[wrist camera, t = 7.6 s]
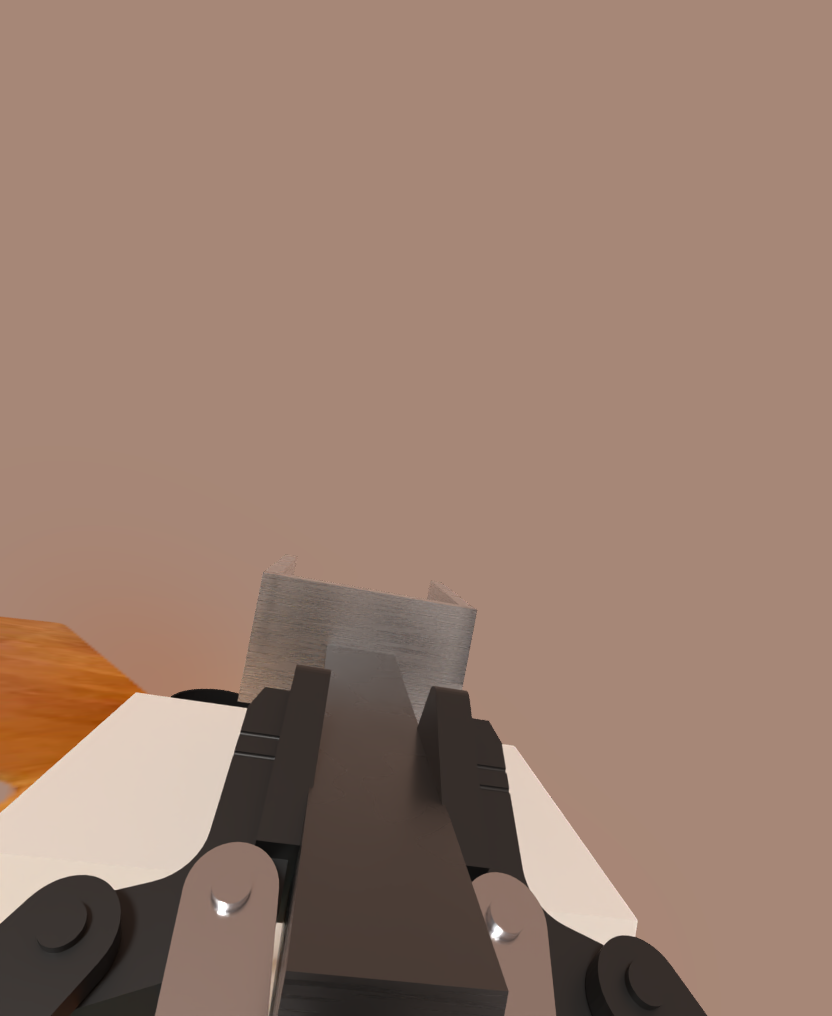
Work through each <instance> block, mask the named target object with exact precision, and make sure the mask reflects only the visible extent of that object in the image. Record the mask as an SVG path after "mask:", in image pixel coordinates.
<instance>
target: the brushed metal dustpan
mask: <svg viewBox="0 0 832 1016" xmlns="http://www.w3.org/2000/svg"><path fill="white" fill-rule="evenodd" d="M296 561H297V556H291V555H285V556H283V557H282V558H281V559H279V560H278V561H277V562H276V563H274V564H273V565H272V566H271V567H269V568H268V569H267V570H266V571H264V572H263V576H262V581H261V587H260V591H259V596H258V602H257V606H256V611H255V616H254V621H253V626H252V632H251V637H250V642H249V647H248V652H247V657H246V662H245V667H244V672H243V678H242V682H241V687H240V692H239V697H238V701H239V702H245V703H251V702H252V701H253V700H254V699H255V698H256V697H257V695H258V694H259V693H260V692H261V691H262V690H263V689H264V687H269V688H275V689H282V690H289V691H290V690H291V686H292V682H293V677H294V673H295V669H296V665H297V664H299V665H306V666H312V667H318V668H325V669H331V676H330V683H329V689H328V696H327V702H326V708H325V715H324V721H323V728H322V734H321V740H320V747H319V753H318V760H317V766H316V772H315V779H314V785H313V788H312V787H309V792H308V798H307V804H306V810H305V816H304V822H303V828H302V834H301V841H300V846H299V851H298V855H297V860H296V864H295V868H294V873H293V877H292V882H291V886H290V890H289V895H288V899H287V904H286V908H285V912H284V917H283V923H282V930H281V936H280V943H279V950H278V957H277V963H276V970H275V977H274V983H273V990H272V997H271V1003H270V1010H269V1016H504V1014H505V1009H506V1004H507V998H508V993H509V991H508V988H507V985H506V982H505V979H504V976H503V973H502V970H501V967H500V964H499V961H498V958H497V955H496V952H495V949H494V947H493V944H492V941H491V938H490V935H489V932H488V929H487V926H486V923H485V920H484V917H483V914H482V911H481V908H480V905H479V902H478V899H477V896H476V893H475V890H474V888H473V885H472V882H471V879H470V876H469V873H468V870H467V867H466V864H465V861H464V858H463V855H462V852H461V849H460V846H459V843H458V840H457V837H456V834H455V831H454V829H453V826H452V823H451V820H450V817H449V814H448V811H447V808H446V805H442V803H441V800H440V797H439V794H438V791H437V788H436V785H435V782H434V779H433V776H432V773H431V769H430V766H429V763H428V760H427V757H426V754H425V751H424V748H423V745H422V742H421V739H420V736H419V733H418V730H417V727H418V724H419V721H420V718H421V715H422V712H423V709H424V706H425V703H426V700H427V697H428V694H429V692H430V689H431V687H432V686H438V687H444V688H451V689H457V690H462V687H463V682H464V676H465V671H466V666H467V660H468V655H469V650H470V644H471V640H472V634H473V629H474V624H475V618H476V613H477V610H476V609H475V608H474V607H472V606H471V605H470V604H469V603H467V602H466V601H465V600H463V599H462V598H461V597H459V596H458V595H457V594H456V593H454V592H453V591H452V590H450V589H449V588H448V587H447V586H445V585H444V584H443V583H441V582H436V581H431V582H430V587H429V592H428V598H427V599H422V598H417V597H411V596H406V595H400V594H394V593H389V592H383V591H377V590H371V589H366V588H360V587H355V586H349V585H343V584H338V583H332V582H326V581H321V580H315V579H309V578H304V577H298V576H294V570H295V566H296Z"/></svg>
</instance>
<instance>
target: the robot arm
mask: <svg viewBox="0 0 832 1016" xmlns="http://www.w3.org/2000/svg"><path fill="white" fill-rule="evenodd" d="M330 676H331V669H325V668H318V667H312V666H306V665H299V664H297V665H296V669H295V673H294V677H293V682H292V686H291V690H290V691H289V690H282V689H275V688H269V687H264V689H263V690H262V691H261V692H260V693H259V694H258V695H257V697H256V698H255V699H254V700H253V701H252V702H251V703H250V704H249V706H248V708H247V711H246V714H245V718H244V721H243V724H242V727H241V731H240V735H239V737H238V741H237V744H236V747H235V750H234V755H233V757H232V760H231V764H230V767H229V770H228V773H227V777H226V780H225V783H224V787H223V790H222V793H221V796H220V800H219V803H218V806H217V809H216V813H215V816H214V819H213V823H212V826H211V829H210V832H209V835H208V837H207V840H206V841H205V843H204V845H203V847H202V848H201V850H200V851H199V852H198V854H197V855H196V856H195V857H194V858H193V859H192V860H191V861H190V862H189V863H188V864H187V865H185V866H184V867H183V868H181V869H180V870H178V871H177V872H175V873H173V874H171V875H169V876H167V877H165V878H162V879H159V880H156V881H152V882H148V883H144V884H139V885H135V886H131V887H127V888H122V889H118V890H114V889H113V888H112V887H111V885H110V884H109V883H107V882H106V881H104V880H103V879H100V878H98V877H95V876H90V875H74V876H68V877H65V878H62V879H58V880H56V881H54V882H52V883H50V884H48V885H46V886H44V887H43V888H41V889H40V890H38V891H37V892H35V893H34V894H33V895H32V896H30V897H29V898H28V899H27V900H26V901H25V902H24V903H22V904H21V905H20V906H19V907H18V908H17V909H16V910H15V911H14V912H12V913H11V914H10V915H9V916H8V917H7V918H6V919H5V920H4V921H3V922H1V923H0V1016H268V1009H269V998H270V986H271V974H272V963H273V951H274V940H275V928H276V923H283V917H284V912H285V908H286V904H287V899H288V895H289V890H290V886H291V882H292V877H293V873H294V868H295V864H296V860H297V855H298V851H299V846H300V841H301V834H302V828H303V822H304V816H305V810H306V804H307V798H308V792H309V787H312V788H313V785H314V779H315V772H316V766H317V760H318V753H319V747H320V740H321V734H322V728H323V721H324V715H325V708H326V702H327V696H328V689H329V683H330ZM417 730H418V733H419V736H420V739H421V742H422V745H423V748H424V751H425V754H426V757H427V760H428V763H429V766H430V769H431V773H432V776H433V779H434V782H435V785H436V788H437V791H438V794H439V797H440V800H441V803H442V805H446V808H447V811H448V814H449V817H450V820H451V823H452V826H453V829H454V831H455V834H456V837H457V840H458V843H459V846H460V849H461V852H462V855H463V858H464V861H465V864H466V867H467V870H468V873H469V876H470V879H471V882H472V885H473V888H474V890H475V893H476V896H477V899H478V902H479V905H480V908H481V911H482V914H483V917H484V920H485V923H486V926H487V929H488V932H489V935H490V938H491V941H492V944H493V947H494V949H495V952H496V955H497V958H498V961H499V964H500V967H501V970H502V973H503V976H504V979H505V982H506V985H507V988H508V991H509V993H508V998H507V1004H506V1009H505V1014H504V1016H707V1015H706V1014H705V1012H704V1011H703V1009H702V1008H701V1006H700V1005H699V1004H698V1002H697V1001H696V1000H695V998H694V997H693V995H692V994H691V992H690V991H689V990H688V988H687V987H686V986H685V984H684V983H683V981H682V980H681V979H680V977H679V976H678V974H677V973H676V972H675V970H674V969H673V967H672V966H671V965H670V964H669V962H668V961H667V960H666V959H665V957H664V956H663V955H662V954H661V953H660V952H659V951H657V950H656V949H655V948H654V947H653V946H651V945H650V944H648V943H646V942H645V941H643V940H641V939H639V938H636V937H633V936H627V935H621V936H616V937H614V938H612V939H610V940H609V941H608V942H606V943H605V945H603V944H601V943H599V942H597V941H595V940H593V939H591V938H589V937H587V936H585V935H583V934H581V933H579V932H577V931H575V930H573V929H571V928H569V927H567V926H565V925H563V924H561V923H560V922H558V921H557V920H555V919H554V918H553V917H551V916H550V915H549V914H548V913H547V912H546V911H545V910H544V909H543V908H542V907H541V905H540V903H539V902H538V900H537V898H536V897H535V895H534V894H533V893H532V892H531V890H530V889H529V887H528V884H527V882H526V879H525V876H524V872H523V867H522V861H521V855H520V849H519V843H518V837H517V831H516V825H515V819H514V813H513V807H512V801H511V795H510V793H509V783H508V777H507V773H506V765H505V759H504V753H503V747H502V743H501V741H500V739H499V738H498V736H497V734H496V733H495V731H494V729H493V728H492V726H491V724H490V722H489V721H485V720H479V719H473V718H472V716H471V707H470V699H469V694H468V692H467V691H463V690H457V689H451V688H444V687H438V686H432V687H431V689H430V692H429V694H428V697H427V700H426V703H425V706H424V709H423V712H422V715H421V718H420V721H419V724H418V727H417Z"/></svg>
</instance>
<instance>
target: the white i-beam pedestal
mask: <svg viewBox="0 0 832 1016" xmlns="http://www.w3.org/2000/svg"><path fill="white" fill-rule="evenodd" d="M246 711H247V708H242V707H235V706H228V705H221V704H214V703H206V702H199V701H192V700H185V699H178V698H171V697H164V696H156V695H150V694H143V693H135V694H134V695H133V696H132V697H130V698H129V699H128V700H127V701H126V702H125V703H124V704H123V705H121V706H120V707H119V708H118V709H117V710H116V711H115V712H114V713H112V714H111V715H110V716H109V717H108V718H107V719H106V720H105V721H103V722H102V723H101V724H100V725H99V726H98V727H97V728H96V729H94V730H93V731H92V732H91V733H90V734H89V735H88V736H87V737H85V738H84V739H83V740H82V741H81V742H80V743H79V744H78V745H76V746H75V747H74V748H73V749H72V750H71V751H70V752H69V753H67V754H66V755H65V756H64V757H63V758H62V759H61V760H60V761H58V762H57V763H56V764H55V765H54V766H53V767H52V768H51V769H49V770H48V771H47V772H46V773H45V774H44V775H43V776H41V777H40V778H39V779H38V780H37V781H36V782H35V783H34V784H32V785H31V786H30V787H29V788H28V789H27V790H26V791H25V792H23V793H22V794H21V795H20V796H19V797H18V798H17V799H16V800H14V801H13V802H12V803H11V804H10V805H9V806H8V807H7V808H5V809H4V810H3V811H2V812H1V813H0V923H1V922H3V921H4V920H5V919H6V918H7V917H8V916H9V915H10V914H11V913H12V912H14V911H15V910H16V909H17V908H18V907H19V906H20V905H21V904H22V903H24V902H25V901H26V900H27V899H28V898H29V897H30V896H32V895H33V894H34V893H35V892H37V891H38V890H40V889H41V888H43V887H44V886H46V885H48V884H50V883H52V882H54V881H56V880H58V879H62V878H65V877H68V876H74V875H90V876H95V877H98V878H100V879H103V880H104V881H106V882H107V883H109V884H110V885H111V887H112V888H113V889H114V890H118V889H122V888H127V887H131V886H135V885H139V884H144V883H148V882H152V881H156V880H159V879H162V878H165V877H167V876H169V875H171V874H173V873H175V872H177V871H178V870H180V869H181V868H183V867H184V866H185V865H187V864H188V863H189V862H190V861H191V860H192V859H193V858H194V857H195V856H196V855H197V854H198V852H199V851H200V850H201V848H202V847H203V845H204V843H205V841H206V840H207V837H208V835H209V832H210V829H211V826H212V823H213V819H214V816H215V813H216V809H217V806H218V803H219V800H220V796H221V793H222V790H223V787H224V783H225V780H226V777H227V773H228V770H229V767H230V764H231V760H232V757H233V755H234V750H235V747H236V744H237V741H238V737H239V735H240V731H241V727H242V724H243V721H244V718H245V714H246ZM502 747H503V753H504V759H505V765H506V773H507V777H508V783H509V793H510V795H511V801H512V807H513V813H514V819H515V825H516V831H517V837H518V843H519V849H520V855H521V861H522V867H523V872H524V876H525V879H526V882H527V884H528V887H529V889H530V890H531V892H532V893H533V894H534V895H535V897H536V898H537V900H538V902H539V903H540V905H541V907H542V908H543V909H544V910H545V911H546V912H547V913H548V914H549V915H550V916H551V917H553V918H554V919H555V920H557V921H558V922H560V923H561V924H563V925H565V926H567V927H569V928H571V929H573V930H575V931H577V932H579V933H581V934H583V935H585V936H587V937H589V938H591V939H593V940H595V941H597V942H599V943H601V944H603V945H605V943H606V942H608V941H609V940H610V939H612V938H614V937H616V936H621V935H627V936H633V937H635V934H636V928H637V922H638V920H637V918H636V917H635V916H634V914H633V913H632V911H631V910H630V909H629V907H628V906H627V904H626V903H625V902H624V900H623V899H622V897H621V896H620V894H619V893H618V892H617V890H616V889H615V887H614V886H613V885H612V883H611V882H610V880H609V879H608V877H607V876H606V875H605V874H604V872H603V870H602V869H601V868H600V866H599V865H598V863H597V862H596V860H595V859H594V858H593V856H592V855H591V853H590V852H589V851H588V849H587V848H586V846H585V845H584V843H583V842H582V841H581V839H580V838H579V837H578V835H577V834H576V832H575V831H574V830H573V828H572V826H571V825H570V824H569V822H568V821H567V819H566V818H565V817H564V815H563V814H562V812H561V811H560V810H559V808H558V807H557V805H556V804H555V802H554V801H553V800H552V798H551V797H550V795H549V794H548V793H547V791H546V790H545V788H544V787H543V785H542V784H541V783H540V781H539V780H538V779H537V777H536V776H535V775H534V773H533V772H532V770H531V769H530V767H529V766H528V764H527V763H526V761H525V760H524V759H523V757H522V756H521V755H520V753H519V752H518V750H517V749H516V747H515V746H511V745H504V744H502ZM281 930H282V923H276V928H275V940H274V951H273V963H272V974H271V986H270V998H269V1009H268V1016H269V1010H270V1003H271V997H272V990H273V983H274V977H275V970H276V963H277V957H278V950H279V943H280V936H281Z"/></svg>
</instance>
